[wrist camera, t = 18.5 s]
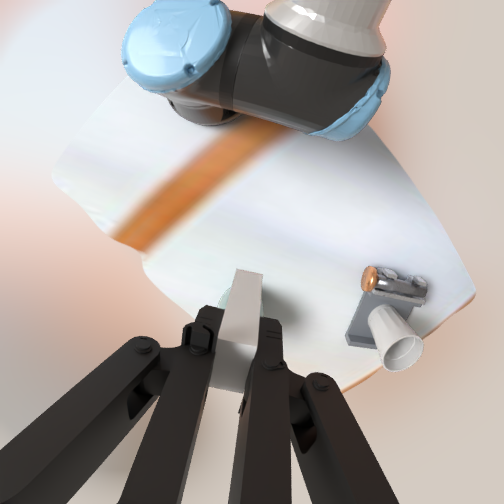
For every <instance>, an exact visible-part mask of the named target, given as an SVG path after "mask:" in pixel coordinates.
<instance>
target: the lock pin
mask: <svg viewBox="0 0 504 504" xmlns="http://www.w3.org/2000/svg"><path fill="white" fill-rule="evenodd" d="M374 287H375V288H379V289H384V290H388V291H393V292H397V293H402V294H406V295H411V296H415V297H420V298H424V297H425V296H426V293H427V287H426V286H422V285H418V284H416V283H412V282H408V281H404V280H400V279H393V278H389V277H387V276H384V275H380V274H377V269H376V268H375V267H371V266H368V267H366V269H365V270H364V272H363V275H362V279H361V288H362V290H363V291H366V292H371V291H372V290H373V289H374Z"/></svg>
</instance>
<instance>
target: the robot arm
mask: <svg viewBox="0 0 504 504" xmlns="http://www.w3.org/2000/svg"><path fill="white" fill-rule="evenodd" d="M390 2H391V0H274V1H272V2H270V3H269V4H267V5H266V7H265V12H264V16H260V15H255V14H250V13H244V12H239V11H233V10H229V9H228V7H227V6H226V5H225V4H224V3H223V2H222V1H220V0H155V1H154V3H153V4H152V5H151V6H149V7H147V8H144V9H143V10H142V11H141V12H140V13H139V14H138V15H137V16H136V17H135V19H134V20H133V21H132V23H131V24H130V26H129V28H128V30H127V32H126V34H125V37H124V40H123V43H122V50H121V51H122V52H121V57H122V62H123V65H124V68H125V70H126V72H127V74H128V75H129V77H130V78H131V79H132V80H133V81H135V82H136V83H137V84H139V85H140V86H141V87H142V88H143V89H144V90H148V91H149V92H152V93H157V94H159V95H161V96H164V97H166V98H167V99H168V101H169V103H170V105H171V107H172V108H173V109H174V110H175V112H176V113H178V114H179V115H180V116H181V117H183V118H184V119H186V120H188V121H191V122H193V123H196V124H200V125H208V126H212V125H220V124H224V123H227V122H230V121H232V120H234V119H236V118H237V117H239V116H240V115H242V114H247V115H250V116H254V117H257V118H261V119H264V120H268V121H271V122H274V123H277V124H280V125H284V126H287V127H290V128H293V129H296V130H299V131H302V132H303V133H305V134H307V135H311V136H320V137H323V138H326V139H329V140H333V141H344V140H347V139H350V138H352V137H353V136H355V135H356V134H358V133H359V132H360V131H361V130H362V129H363V128H364V127H365V126H366V125H367V124H368V122H369V121H370V120H371V119H372V117H373V116H374V114H375V113H376V111H377V110H378V108H379V106H380V104H381V97H382V96H383V94H385V92H386V90H387V88H388V85H389V81H390V74H391V70H390V66H389V63H388V61H387V60H386V59H385V58H384V56H383V55H384V53H385V51H386V44H385V41H384V39H383V37H382V35H381V33H380V31H379V25H380V23H381V21H382V18H383V17H384V14H385V12H386V10H387V8H388V6H389V4H390ZM262 277H263V274H258V273H254V272H249V271H245V270H240V269H237V270H236V273H235V277H234V280H233V284H232V287H231V291H230V294H229V298H228V302H227V305H226V309H221V308H217V307H212V306H208V305H206V306H204V307H203V308H201V309H200V310H199V312H198V315H197V317H196V319H195V322H193V323H189V324H187V325H185V327H184V328H183V333H182V343H181V346H178V347H175V348H161V347H160V345H159V343H158V342H157V341H156V340H154V339H153V338H150V337H147V336H138V337H134V338H132V339H130V340H129V341H128V342H126V343H125V344H124V345H123V346H122V347H120V348H119V349H118V350H117V351H116V352H114V353H113V354H112V355H111V356H110V357H108V358H107V359H106V360H105V361H104V362H103V363H101V364H100V365H99V366H98V367H97V368H95V369H94V370H93V371H92V372H91V373H89V374H88V375H87V376H86V377H85V378H84V379H82V380H81V381H80V382H79V383H78V384H76V385H75V386H74V387H73V388H72V389H71V390H70V391H68V392H67V393H66V394H65V395H63V396H62V397H61V398H60V399H59V400H58V401H56V402H55V403H54V404H53V405H52V406H51V407H50V408H48V409H47V410H46V411H45V412H44V413H43V414H41V415H40V416H39V417H38V418H37V419H35V420H34V421H33V422H32V423H31V424H30V425H29V426H27V427H26V428H25V429H24V430H23V431H22V432H21V433H19V434H18V435H17V436H16V437H15V438H14V439H12V440H11V441H10V442H9V443H8V444H7V445H6V446H4V447H3V448H2V449H1V450H0V504H66V503H67V502H68V501H69V500H70V499H71V498H72V497H73V496H74V495H75V494H76V492H77V491H78V490H79V489H80V488H81V487H82V486H83V484H84V483H85V482H86V481H87V480H88V479H89V477H91V475H92V474H93V473H94V472H95V471H96V470H97V469H98V467H99V466H100V465H101V464H102V463H103V462H104V460H105V459H106V458H107V457H108V456H109V455H110V454H111V452H112V451H113V450H114V449H115V448H116V447H117V445H118V444H119V443H120V442H121V441H122V440H123V438H124V437H125V436H126V435H127V434H128V433H129V431H130V430H131V429H132V428H133V427H134V425H135V424H136V423H137V422H138V421H139V420H140V418H141V417H142V416H143V415H144V414H145V413H146V411H147V410H148V409H149V408H150V407H151V405H152V404H153V403H154V402H155V401H156V399H157V398H158V396H160V397H159V399H158V402H157V405H156V407H155V409H154V412H153V414H152V417H151V419H150V422H149V424H148V427H147V429H146V432H145V434H144V437H143V440H142V442H141V445H140V447H139V450H138V452H137V455H136V457H135V460H134V463H133V465H132V468H131V471H130V473H129V476H128V479H127V481H126V484H125V487H124V490H123V492H122V495H121V497H120V500H119V501H118V503H117V504H181V501H182V497H183V492H184V488H185V484H186V479H187V475H188V471H189V467H190V463H191V459H192V455H193V450H194V446H195V442H196V438H197V434H198V430H199V426H200V421H201V418H202V413H203V409H204V405H205V401H206V397H207V392H208V387H214V388H218V389H223V390H228V391H232V392H238V393H243V392H244V396H243V399H242V402H241V406H240V409H239V412H238V413H240V417H239V425H238V433H237V440H236V448H235V455H234V463H233V470H232V478H231V485H230V493H229V500H228V504H292V499H291V498H292V497H291V442H292V445H293V448H294V451H295V454H296V457H297V460H298V463H299V466H300V469H301V472H302V475H303V478H304V481H305V484H306V487H307V490H308V493H309V495H310V499H311V501H312V504H399V502H398V500H397V498H396V496H395V494H394V492H393V490H392V488H391V486H390V485H389V482H388V481H387V479H386V477H385V475H384V473H383V471H382V469H381V467H380V465H379V463H378V461H377V460H376V457H375V455H374V453H373V452H372V450H371V448H370V446H369V444H368V442H367V440H366V438H365V436H364V435H363V432H362V431H361V429H360V427H359V425H358V423H357V421H356V419H355V417H354V415H353V413H352V412H351V410H350V408H349V406H348V404H347V402H346V400H345V398H344V397H343V395H342V393H341V391H340V389H339V387H338V385H337V383H336V382H335V381H334V379H333V378H331V377H330V376H328V375H326V374H324V373H318V372H315V373H310V374H309V375H308V376H307V377H306V378H305V377H303V376H300V375H298V374H295V373H293V372H292V371H290V370H289V369H288V367H287V364H286V362H285V361H284V360H283V341H282V326H281V325H280V323H279V321H278V320H276V319H271V318H266V317H261V316H260V305H261V291H262ZM244 389H245V390H244ZM290 439H291V440H290Z"/></svg>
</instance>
